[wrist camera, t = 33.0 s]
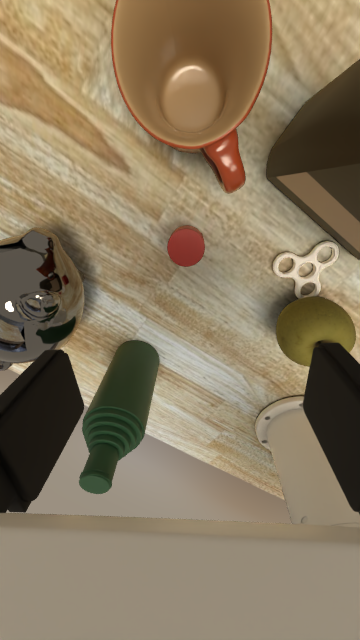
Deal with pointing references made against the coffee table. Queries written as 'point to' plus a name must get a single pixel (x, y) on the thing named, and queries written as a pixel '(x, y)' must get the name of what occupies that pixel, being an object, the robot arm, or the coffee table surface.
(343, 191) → the bottle
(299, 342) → the apple
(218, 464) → the coffee table surface
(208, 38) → the mug
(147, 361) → the sauce bottle
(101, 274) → the coffee table surface
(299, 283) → the fidget spinner
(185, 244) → the cap
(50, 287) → the piggy bank
